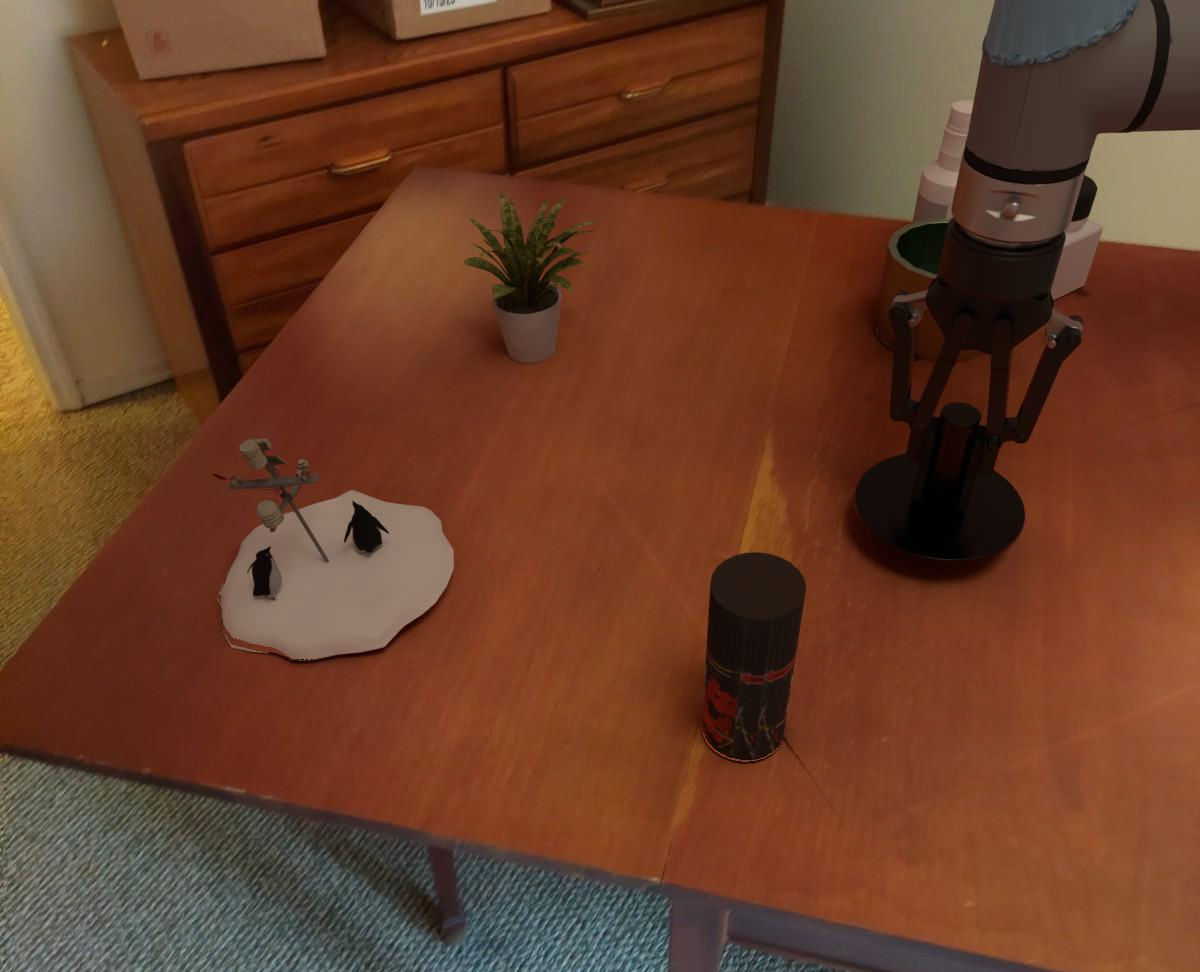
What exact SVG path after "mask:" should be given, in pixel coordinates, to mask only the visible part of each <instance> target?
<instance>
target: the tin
mask: <svg viewBox="0 0 1200 972" xmlns="http://www.w3.org/2000/svg"><path fill="white" fill-rule="evenodd" d="M950 220H951V219H931V220H923V221H919V222H915V223H912V222H911V223H908V224H905V225H904V226H903V227H901V228H899V229H898V230H896V231H895V232H893V233H892V234H891V237H890V239H889V242H888V244H887V250H886V253H885V254H886V255H885V259H884V264H883V265H884V266H883V270H882V271H883V272H882V277H881V283H880V289H879V294H878V299H877V306H876V310H875V311H876V312H875V317H874V321H873V323H874V332H875V336H876V337H877V339H878V341H879V342H880V343H881V344H882V345H883V346H884V347H885V348H886V349H887V350H889V351H890V352H892V354H894V346H895V334H894V331H893V328H892V325H891V322H890V319H889V315H888V313H889V310H890V307H891V304H892V301H893V299H894V296H895V294H896V293H897V292H898V291H900V290H905V291H908V292H909V293H910V294H914V293H918V292H922V291H926V290H928V287H929V285H930V283H931V282H932V281H933V280H934V279H935V278H936V276H937V275H938V271H939V266H940V262H941V257H942V252H943V247H944V242H945V237H946V232H947V228H948V223H949V221H950ZM944 339H945V337H944V336H943V334H942V332H941V330H940V328H939V327H938V325H937V323H936V321H935V319H934V318H933V316H932V314H931V312H930V310H929V309H926V310H925V311H924V315H923V318H922V321H921V323H920V324H918V325H917V333H916V344H915V355H914V362H919V361H921V360H926V361H932V362H935V361H936V359H937V356H938V354H939V351H940V349H941V347H942V344H943V342H944ZM984 355H986V353H983V352H981V351H979V350H961V352H960V354H959V356H958V359H957V361H956V362H964V361H968V360H970V359H974V358H977V357H981V356H984Z"/></svg>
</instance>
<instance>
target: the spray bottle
mask: <svg viewBox="0 0 1200 972" xmlns="http://www.w3.org/2000/svg"><path fill="white" fill-rule="evenodd" d="M973 102H974V100H971V99H970V100H969V99H968V100H967V99H963V100H958V101H955V102H953V103H952V104H951V107H950V111H949V112H950V113H949V117H948V121H947V122H946V125H945V127H944V131H943V136H942V140H941V145H940V147H939V151H938V157H937V159H936V160H933V161H931V162H929V163H927V164H926V165H925V166H924V168H923V169H922V171H921V175H920V180H919V185H918V191H917V196H916V200H915V206H914V212H913V217H912V221H911V224H912V223H915V222H919V221H923V220H931V219H952V218H953V215H952V212H951V208H952V203H953V198H954V193H955V188H956V184H957V179H958V174H959V169H960V164H961V159H962V154H963V151H964V149H965V144H966V140H967V135H968V130H969V124H970V119H971V113H972V108H973Z"/></svg>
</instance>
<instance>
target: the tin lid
mask: <svg viewBox="0 0 1200 972" xmlns="http://www.w3.org/2000/svg"><path fill="white" fill-rule="evenodd" d="M938 417H939V421H938V426H937V431H936V436H935V440H934V444H933V449H932V453H931V457H930V462H929V466H928V470H927V475H926V479H925V483H924V488H923V492H922V496H921V500H920V502H919V501H914V500H911V496H912V492H913V487H914V483H915V478H916V474H917V469H918V465H919V463H918V462H913V461H908V460H907V458H906V452H905V453H900V454H896V455H893V456H889V457H887V458H885V459H882V460H880V461H879V462H877V463H875V464H874V465H872V466H871V467H870V468H868V469H867V471H865V472H864V473H863V475H862V476H861V478H860V479H859V480H858V483H857V485H856V488H855V492H854V499H853V500H854V501H853V502H854V503H853V505H854V510H855V514H856V516H857V518H858V520H859V523H860V524H861V526H862V527H863V529H865V531H866V532H867V533H868V534H869V535H870V536H871V537H872V538H873V539H874V540H876V541H877V542H878V543H879V544H881V545H882V546H884V547H885V548H887V549H889V550H891V551H892V552H894V553H897V554H899V555H901V556H904V557H906V558H909V559H912V560H915V561H918V562H923V563H926V564H927V563H928V564H934V565H940V566H941V565H943V566H963V565H972V564H977V563H982V562H985V561H988V560H992V559H994V558H996V557H998V556H1000V555H1002V554H1003V553H1005V552H1007V551H1008V550H1009V549H1010V548H1011V547H1012V546H1014V545H1015V543H1016V542H1017V540H1019V538H1020V536H1021V535H1022V532H1023V529H1024V526H1025V522H1026V510H1025V509H1026V508H1025V505H1024V502H1023V499H1022V497H1021V495H1020V494H1019V492H1018V490H1017V489H1016V488H1015V487H1014V486H1013V484H1012V483H1011V482H1010V481H1009V480H1008V479H1007V478H1006V477H1004V476H1003V475H1002V474H1000V473H999V472H998V471H996V470H994V471H993V472H992V473H991V474H990V475H989V476H988V475H983V474H977V475H976V479H975V482H974V486H973V490H972V493H971V497H970V501H969V504H968V508H967V511H964V510H959V509H957V507H958V503H959V499H960V495H961V491H962V488H963V484H964V480H965V476H966V472H967V469H968V465H969V461H970V457H971V453H972V450H973V446H974V442H975V438H976V436H977V432H978V428H979V425H981V420H982V413H981V411H980V410H979V408H978V407H977V406H975V405H972V404H970V403H967V402H962V401H954V402H949V403H947V404H945V405H944V406H943V407H942V408H941V410H940V413H939V416H938Z"/></svg>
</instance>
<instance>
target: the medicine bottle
mask: <svg viewBox="0 0 1200 972" xmlns="http://www.w3.org/2000/svg"><path fill="white" fill-rule="evenodd" d="M1097 191H1098V186H1097V184H1096V181H1094V180H1093V179H1092V178H1091V177H1090V176H1088V175H1086V174H1084V178H1083V181H1082V184H1081V188H1080V191H1079V195H1078V198H1077V202H1076V205H1075V209H1074V212H1073V216H1072V219H1071V222H1070V225H1069V227H1068V228H1067V229H1066V230H1065V231H1064V232H1065V235H1066V240H1065V243H1064V247H1063V250H1062V254H1061V257H1060V260H1059V264H1058V267H1057V271H1056V274H1055V278H1054V281H1053V285H1052V288H1051V295H1052V298H1053V301H1055V300H1057V299H1060V298H1061V297H1064V296H1065V295H1068V294H1070V293H1073V292H1074V291H1077V290H1078V289H1081V288H1082V287H1084V286H1085V285H1086V282H1087V279H1088V276H1089V274H1090V273H1089V272H1090V270H1091V267H1092V263H1093V261H1094V258H1095V255H1096V252H1097V249H1098V245H1099V243H1100V240H1101V236H1102V234H1103V231H1104V226H1103V225H1101V224H1099V223H1097V222H1094V221H1092V220H1090V219H1089V217H1090V214H1091V211H1092V209H1093V205H1094V203H1095V200H1096V195H1097V193H1098V192H1097Z"/></svg>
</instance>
